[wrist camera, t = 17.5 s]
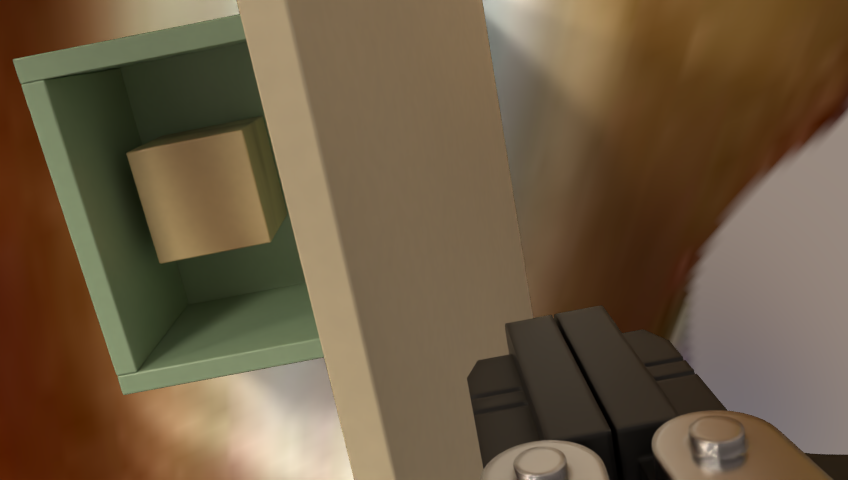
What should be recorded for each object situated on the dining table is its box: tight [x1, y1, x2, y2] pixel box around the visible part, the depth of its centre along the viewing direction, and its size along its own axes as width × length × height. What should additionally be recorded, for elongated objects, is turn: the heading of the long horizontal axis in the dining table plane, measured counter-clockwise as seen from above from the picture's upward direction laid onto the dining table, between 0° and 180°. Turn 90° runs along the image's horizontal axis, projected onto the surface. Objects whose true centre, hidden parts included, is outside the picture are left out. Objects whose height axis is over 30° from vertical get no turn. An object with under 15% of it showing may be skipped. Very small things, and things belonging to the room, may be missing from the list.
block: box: [126, 116, 287, 264], centre depth 35 cm, size 5×5×5 cm
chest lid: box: [237, 0, 533, 480], centre depth 21 cm, size 18×14×1 cm
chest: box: [13, 14, 324, 395], centre depth 34 cm, size 17×14×9 cm
